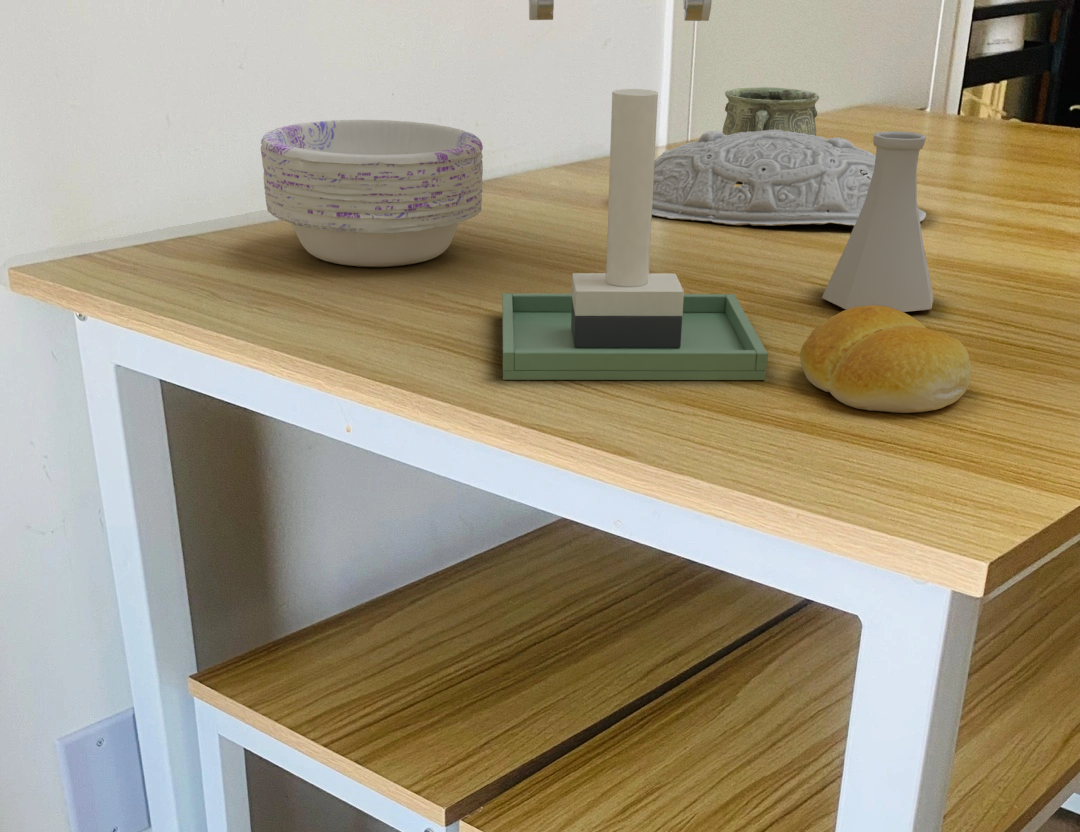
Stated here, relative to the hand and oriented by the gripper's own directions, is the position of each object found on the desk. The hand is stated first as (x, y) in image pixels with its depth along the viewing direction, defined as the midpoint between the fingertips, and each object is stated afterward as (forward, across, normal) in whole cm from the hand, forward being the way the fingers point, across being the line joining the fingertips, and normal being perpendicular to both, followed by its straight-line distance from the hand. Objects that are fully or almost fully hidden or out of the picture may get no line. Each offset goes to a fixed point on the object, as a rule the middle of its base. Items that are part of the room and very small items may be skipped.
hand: (619, 13), depth 82 cm
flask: (+14, +17, +9) cm, 24 cm away
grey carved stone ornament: (-6, +15, +30) cm, 34 cm away
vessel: (-20, +18, +44) cm, 51 cm away
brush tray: (+21, 0, +2) cm, 21 cm away
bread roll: (+27, +13, -3) cm, 30 cm away
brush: (+21, 0, +1) cm, 21 cm away
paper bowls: (+5, -16, +18) cm, 25 cm away
